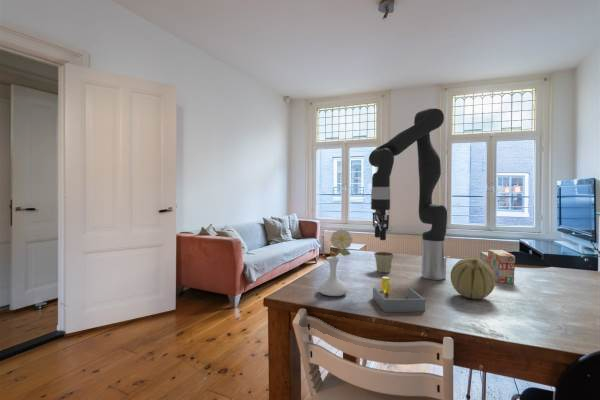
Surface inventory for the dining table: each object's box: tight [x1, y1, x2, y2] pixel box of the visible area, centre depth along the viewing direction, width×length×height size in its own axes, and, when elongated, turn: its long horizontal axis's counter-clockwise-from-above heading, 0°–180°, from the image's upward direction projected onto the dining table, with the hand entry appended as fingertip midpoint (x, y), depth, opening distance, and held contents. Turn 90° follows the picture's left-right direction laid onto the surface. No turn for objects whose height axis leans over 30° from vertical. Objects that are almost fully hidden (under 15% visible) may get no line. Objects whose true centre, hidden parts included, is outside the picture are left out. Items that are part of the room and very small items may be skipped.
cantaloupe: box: [450, 257, 496, 300], centre depth 114 cm, size 15×15×15 cm
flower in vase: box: [317, 228, 353, 297], centre depth 117 cm, size 13×11×25 cm
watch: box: [381, 276, 391, 295], centre depth 119 cm, size 6×3×6 cm, turn 2°
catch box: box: [372, 286, 426, 313], centre depth 107 cm, size 14×13×4 cm
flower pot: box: [373, 251, 395, 274], centre depth 150 cm, size 9×9×9 cm
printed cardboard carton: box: [479, 249, 516, 285], centre depth 141 cm, size 21×6×12 cm, turn 168°
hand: (380, 238), depth 127 cm, fingers open, 6 cm apart
